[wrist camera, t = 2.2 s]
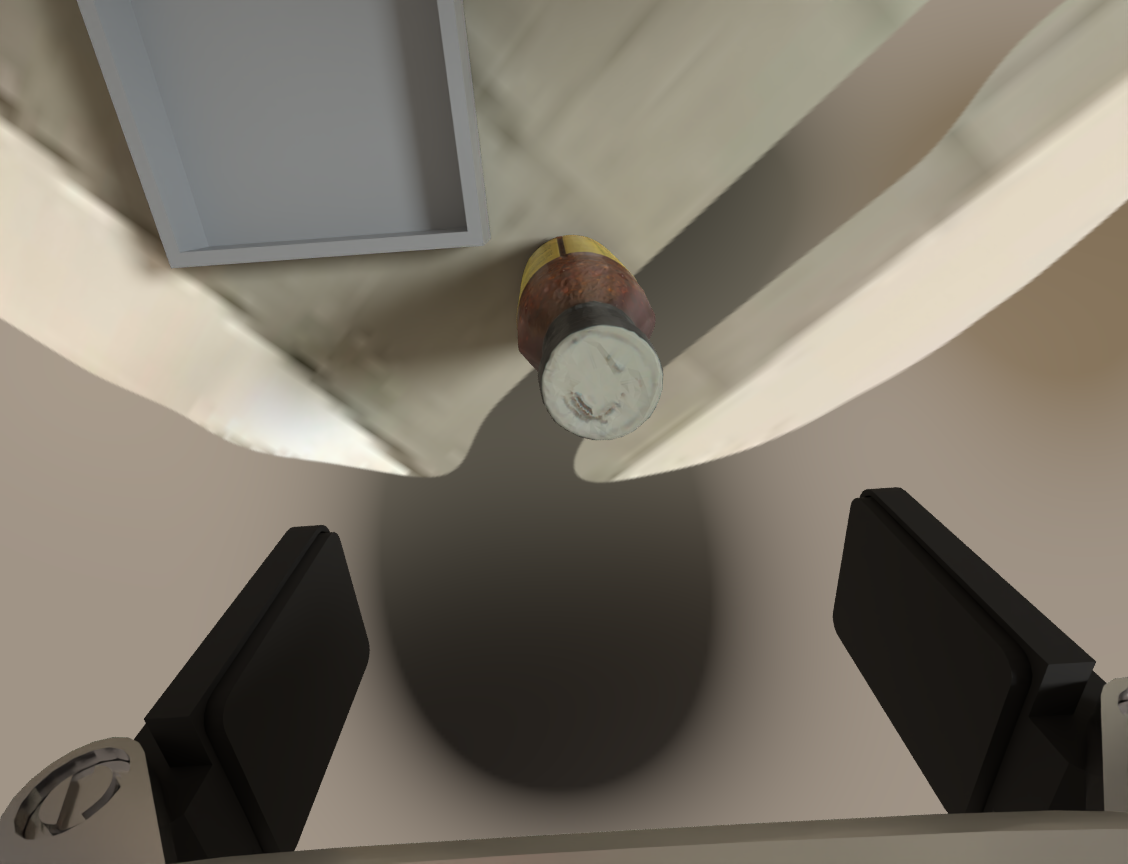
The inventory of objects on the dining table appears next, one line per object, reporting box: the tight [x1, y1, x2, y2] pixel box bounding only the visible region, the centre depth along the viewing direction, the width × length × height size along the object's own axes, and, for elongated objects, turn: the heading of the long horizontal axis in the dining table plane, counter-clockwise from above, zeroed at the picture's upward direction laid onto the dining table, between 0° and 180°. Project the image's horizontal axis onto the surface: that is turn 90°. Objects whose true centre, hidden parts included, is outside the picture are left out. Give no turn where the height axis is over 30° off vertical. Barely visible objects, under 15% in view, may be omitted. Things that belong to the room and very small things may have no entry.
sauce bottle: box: [517, 235, 663, 440], centre depth 27 cm, size 6×6×20 cm
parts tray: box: [77, 0, 491, 268], centre depth 30 cm, size 18×18×4 cm
